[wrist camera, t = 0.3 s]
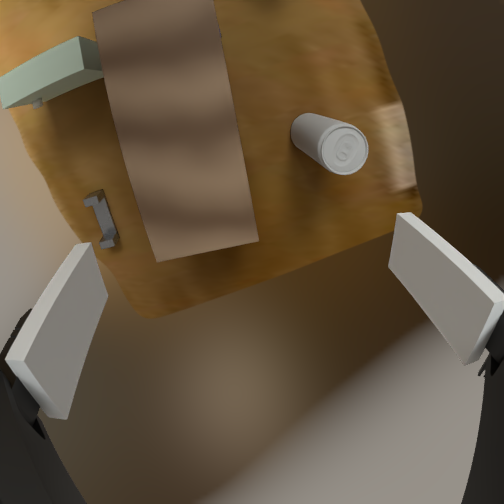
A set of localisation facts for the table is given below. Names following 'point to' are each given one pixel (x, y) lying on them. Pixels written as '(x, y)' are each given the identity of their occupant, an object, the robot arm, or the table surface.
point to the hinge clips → (103, 218)
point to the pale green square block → (51, 73)
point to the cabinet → (176, 124)
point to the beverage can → (330, 142)
